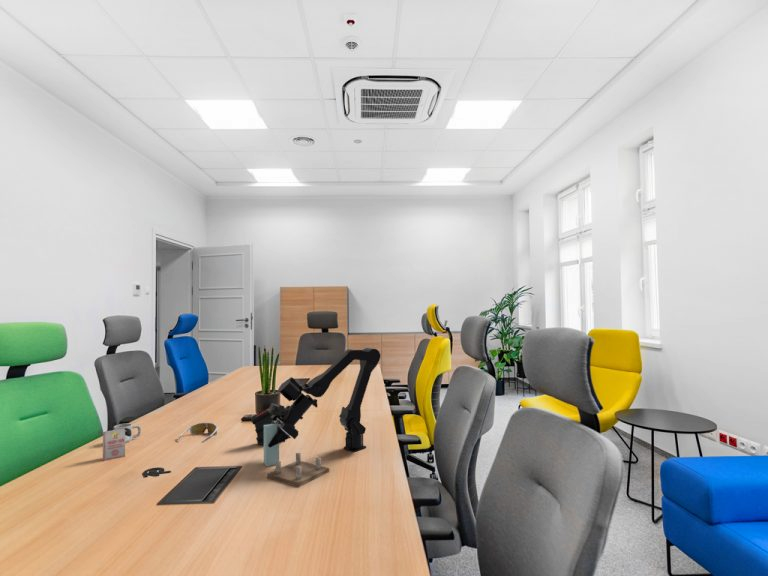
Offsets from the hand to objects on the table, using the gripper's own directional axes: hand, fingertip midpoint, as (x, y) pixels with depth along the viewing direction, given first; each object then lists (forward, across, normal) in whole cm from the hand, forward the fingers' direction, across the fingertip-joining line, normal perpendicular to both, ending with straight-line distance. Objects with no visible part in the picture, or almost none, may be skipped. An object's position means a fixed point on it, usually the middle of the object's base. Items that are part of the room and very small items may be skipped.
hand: (267, 444), depth 149 cm
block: (+4, 0, +6) cm, 7 cm away
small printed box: (+39, -36, -30) cm, 61 cm away
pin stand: (0, +15, +10) cm, 18 cm away
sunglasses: (+19, -47, -8) cm, 51 cm away
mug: (+37, -57, -28) cm, 74 cm away
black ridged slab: (+1, -24, +9) cm, 25 cm away
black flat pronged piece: (+28, -9, -18) cm, 35 cm away
